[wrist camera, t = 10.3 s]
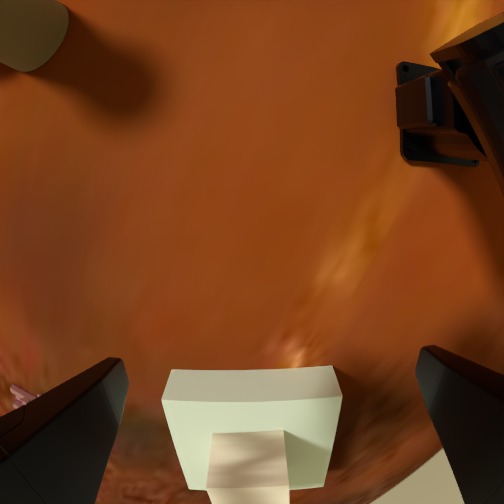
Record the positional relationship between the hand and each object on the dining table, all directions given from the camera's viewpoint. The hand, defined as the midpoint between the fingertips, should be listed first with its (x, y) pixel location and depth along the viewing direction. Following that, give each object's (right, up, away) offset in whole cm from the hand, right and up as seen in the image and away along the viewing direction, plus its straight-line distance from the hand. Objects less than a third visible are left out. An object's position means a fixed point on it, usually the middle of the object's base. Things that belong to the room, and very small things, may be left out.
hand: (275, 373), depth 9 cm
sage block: (-1, -11, +16) cm, 20 cm away
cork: (-17, +19, +7) cm, 26 cm away
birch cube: (-1, -12, +12) cm, 17 cm away
